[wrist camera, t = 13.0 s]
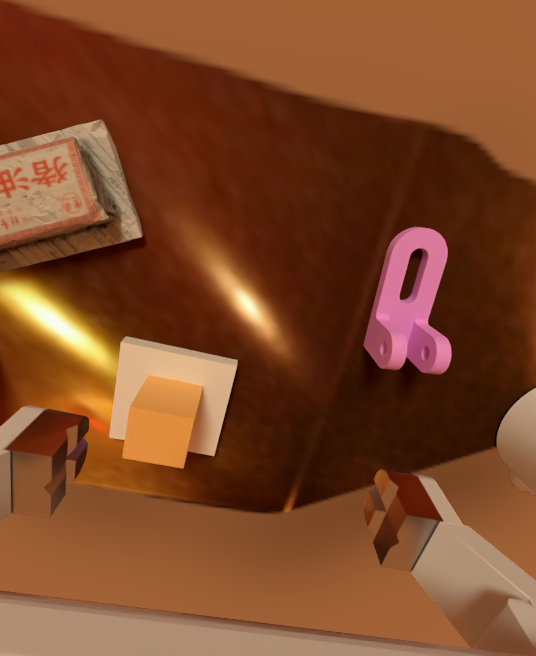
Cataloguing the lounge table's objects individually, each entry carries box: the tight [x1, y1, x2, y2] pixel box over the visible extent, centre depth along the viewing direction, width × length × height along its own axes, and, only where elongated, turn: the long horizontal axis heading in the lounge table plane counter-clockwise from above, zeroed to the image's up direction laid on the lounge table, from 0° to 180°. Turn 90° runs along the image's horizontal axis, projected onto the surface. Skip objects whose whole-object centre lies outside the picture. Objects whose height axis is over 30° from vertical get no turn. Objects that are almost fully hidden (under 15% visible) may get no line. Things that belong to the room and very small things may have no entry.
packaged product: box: [0, 119, 144, 272], centre depth 30 cm, size 18×5×10 cm
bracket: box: [363, 227, 451, 374], centre depth 33 cm, size 13×6×7 cm, turn 172°
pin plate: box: [109, 336, 238, 456], centre depth 37 cm, size 12×12×6 cm
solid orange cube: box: [122, 375, 203, 468], centre depth 35 cm, size 6×6×6 cm
